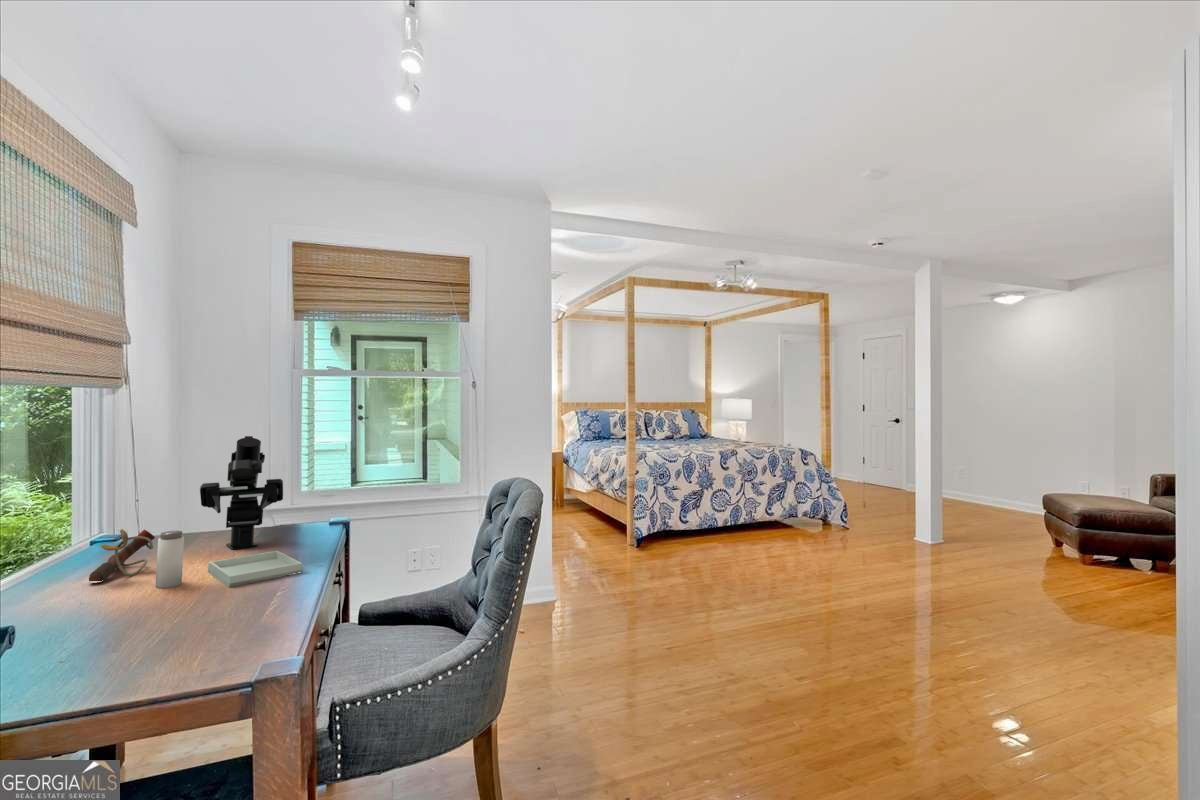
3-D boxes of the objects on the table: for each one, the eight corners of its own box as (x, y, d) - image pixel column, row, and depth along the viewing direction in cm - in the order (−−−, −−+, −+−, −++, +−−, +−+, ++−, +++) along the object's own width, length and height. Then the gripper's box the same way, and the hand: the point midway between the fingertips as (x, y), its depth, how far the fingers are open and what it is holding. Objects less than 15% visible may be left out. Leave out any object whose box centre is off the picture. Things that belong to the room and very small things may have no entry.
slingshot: (52, 584, 123) (99, 548, 137) (93, 612, 126) (134, 573, 141) (105, 541, 122) (147, 509, 136) (145, 569, 125) (182, 535, 140)
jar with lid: (153, 584, 126) (156, 532, 126) (178, 580, 130) (181, 529, 130) (158, 589, 123) (161, 536, 123) (184, 584, 127) (187, 532, 127)
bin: (207, 571, 137) (208, 561, 137) (277, 559, 149) (277, 550, 149) (229, 587, 126) (229, 576, 126) (301, 572, 139) (302, 563, 139)
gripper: (203, 454, 146) (193, 486, 133) (283, 451, 154) (281, 481, 142) (206, 489, 150) (196, 523, 137) (284, 484, 158) (281, 516, 146)
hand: (240, 510), depth 140 cm, fingers open, 9 cm apart
